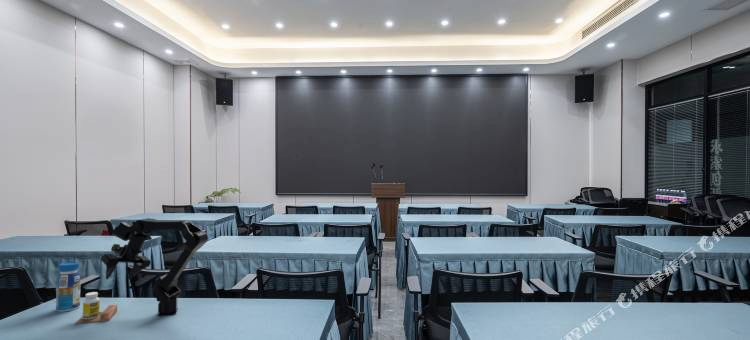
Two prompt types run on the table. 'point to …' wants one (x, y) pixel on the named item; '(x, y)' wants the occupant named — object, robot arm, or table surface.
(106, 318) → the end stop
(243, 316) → the table surface
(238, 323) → the table surface
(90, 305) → the supplement bottle
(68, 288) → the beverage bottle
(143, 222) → the robot arm
